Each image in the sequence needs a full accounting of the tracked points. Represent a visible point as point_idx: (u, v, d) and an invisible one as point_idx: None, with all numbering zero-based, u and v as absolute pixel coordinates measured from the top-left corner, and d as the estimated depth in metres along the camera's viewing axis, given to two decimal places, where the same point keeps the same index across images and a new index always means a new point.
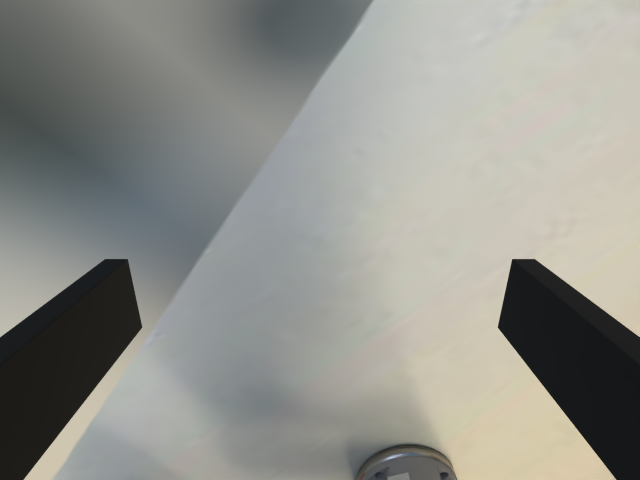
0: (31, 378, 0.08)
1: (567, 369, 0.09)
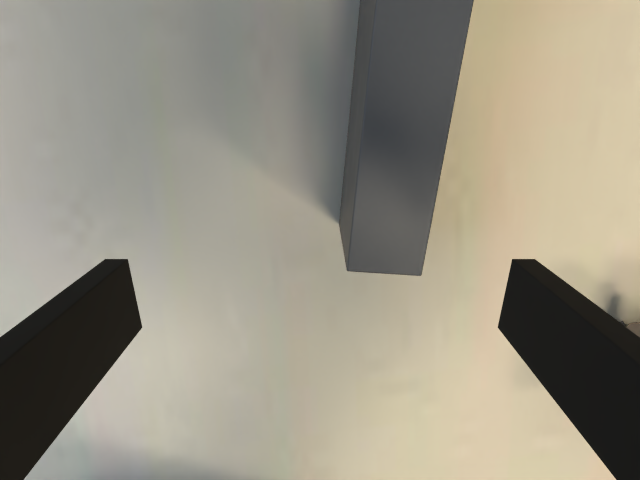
0: (31, 378, 0.08)
1: (567, 369, 0.09)
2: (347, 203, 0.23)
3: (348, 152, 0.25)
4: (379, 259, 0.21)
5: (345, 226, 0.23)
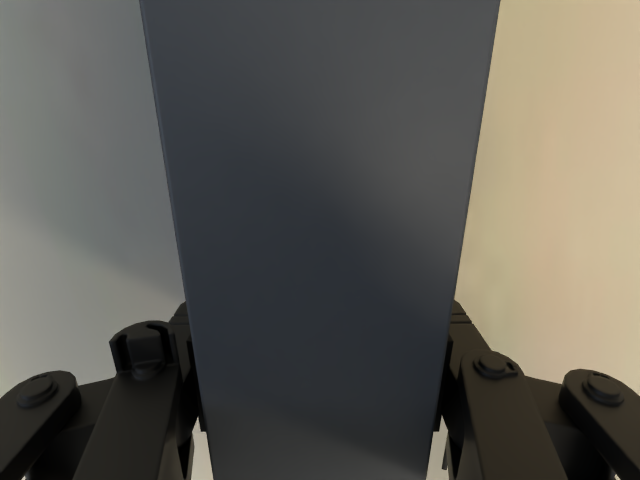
0: None
1: None
2: None
3: None
4: None
5: None
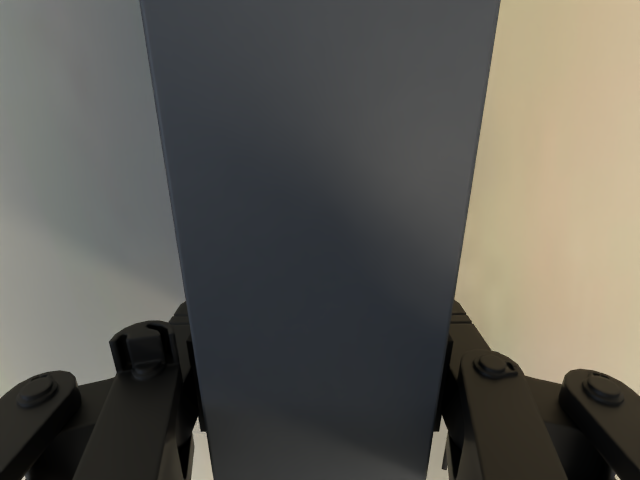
0: None
1: None
2: None
3: None
4: None
5: None
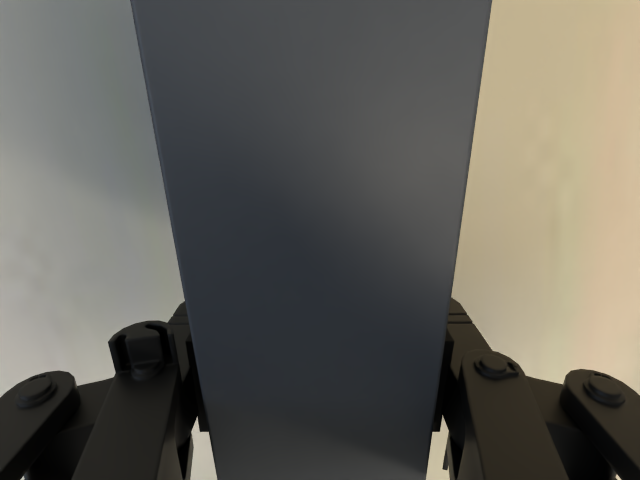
0: None
1: None
2: None
3: None
4: None
5: None
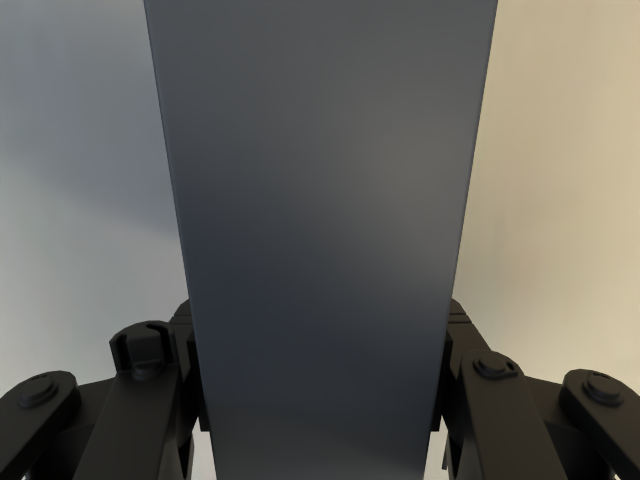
0: None
1: None
2: None
3: None
4: None
5: None
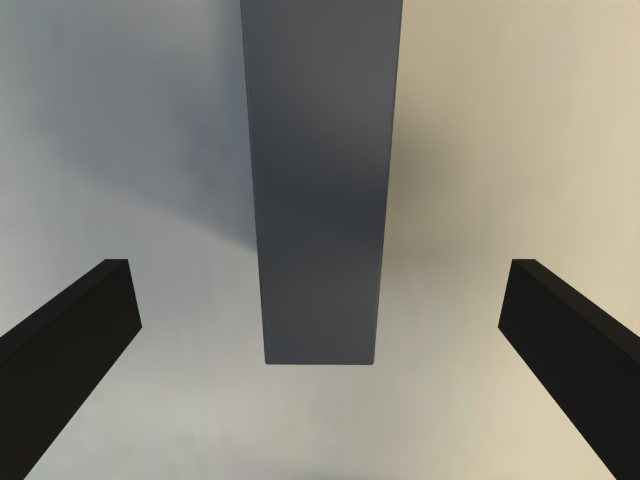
0: (31, 378, 0.08)
1: (567, 369, 0.09)
2: None
3: None
4: (309, 347, 0.14)
5: None
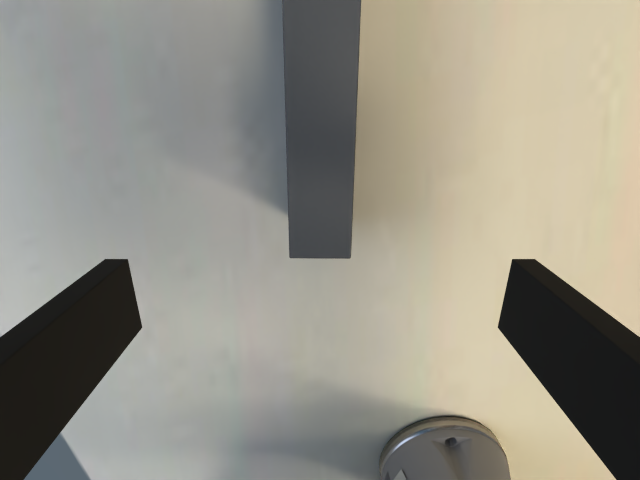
0: (31, 378, 0.08)
1: (567, 369, 0.09)
2: None
3: None
4: (314, 246, 0.26)
5: None
